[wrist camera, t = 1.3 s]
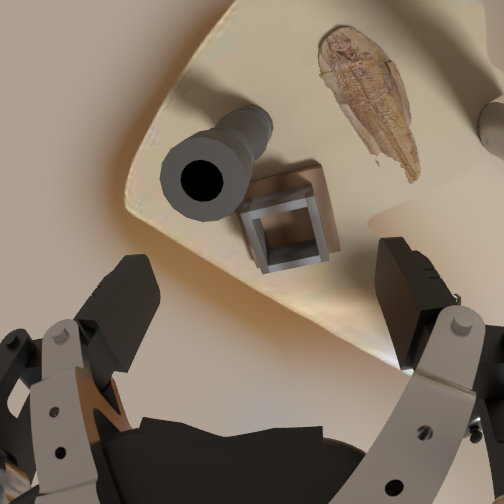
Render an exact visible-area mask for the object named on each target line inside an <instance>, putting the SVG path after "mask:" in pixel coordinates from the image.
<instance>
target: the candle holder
mask: <svg viewBox="0 0 504 504" xmlns="http://www.w3.org/2000/svg"><path fill="white" fill-rule="evenodd" d="M272 131H273V123H272V119H271V117H270V116H269V114H268V112H266V111H265V110H264V109H262V108H261V107H257V106H253V105H251V106H244V107H241V108H239V109H238V110H236V111H234V112H231V113H229V114H228V115H226V116H224V117H223V118H221V119H220V121H219V122H218V123H217V125H216V126H215V128H211V129H209V130H206V131H200V132H198V133H196V134H194V135H192V136H190V137H189V138H187V139H185V140H184V141H182V142H181V143H179V144H178V145H176V146H175V147H173V148H172V149H170V151H169V153H168V154H167V156H166V157H165V159H164V161H163V162H162V167H161V174H160V182H161V186H162V190H163V194H164V196H165V197H166V199H167V200H168V201H169V203H170V204H171V206H172V207H173V208H174V209H175V210H177V211H178V212H179V213H181V214H182V215H184V216H185V217H187V218H190V219H194V220H197V221H201V222H206V221H218V220H220V219H222V218H224V217H226V216H228V215H230V214H232V213H233V212H234V211H235V209H236V208H237V207H238V206H239V205H240V203H241V202H242V201H243V198H244V196H245V193H246V191H247V188H248V186H249V183H250V179H251V176H252V172H253V168H252V167H253V164H254V160H256V159H258V158H259V157H260V156H261V155H262V154H263V152H264V151H265V150H266V146H267V143H268V141H269V140H270V137H271V134H272Z"/></svg>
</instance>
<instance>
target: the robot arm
mask: <svg viewBox="0 0 504 504" xmlns="http://www.w3.org/2000/svg"><path fill="white" fill-rule="evenodd" d="M479 135H480V139H481V142H482V144H483V146H484V147H485V148H486V150H487V151H488V152H490V153H491V154H493V155H495V156H497V157H499V158H500V159H502V160H504V104H503V103H498V102H493V103H490V104H488V105H487V106H486V107H485V108H484V109H483V111H482V113H481V115H480V119H479ZM375 290H376V295H377V298H378V301H379V304H380V306H381V309H382V312H383V315H384V318H385V321H386V324H387V327H388V330H389V333H390V336H391V339H392V342H393V345H394V349H395V352H396V355H397V359H398V362H399V365H400V369H401V370H407V369H413V370H414V372H413V374H412V376H411V379H410V381H409V382H408V385H407V386H406V388H405V390H404V392H403V394H402V396H401V398H400V400H399V402H398V403H397V405H396V407H395V409H394V410H393V412H392V414H391V416H390V418H389V419H388V421H387V422H386V424H385V426H384V427H383V429H382V431H381V432H380V434H379V435H378V437H377V439H376V440H375V442H374V443H373V445H372V446H371V448H370V449H369V451H368V452H367V453H365V452H364V451H362V450H360V449H358V448H356V447H354V446H353V445H350V444H347V443H345V442H341V441H338V440H334V439H329V438H323V429H322V426H318V427H317V426H316V427H298V428H272V429H268V430H263V431H258V432H253V433H248V434H243V435H237V436H231V437H222V436H218V435H215V434H212V433H209V432H206V431H203V430H200V429H197V428H194V427H192V426H189V425H186V424H184V423H180V422H173V421H165V420H159V419H152V418H146V417H143V418H142V421H141V424H140V427H139V428H136V429H132V427H131V426H130V424H129V422H128V419H127V417H126V414H125V411H124V408H123V405H122V402H121V399H120V396H119V393H118V390H117V386H116V383H115V380H114V379H113V378H112V374H113V372H114V371H118V372H125V373H127V372H128V370H129V368H130V366H131V364H132V361H133V359H134V357H135V355H136V353H137V350H138V348H139V346H140V344H141V342H142V340H143V338H144V335H145V333H146V331H147V329H148V327H149V325H150V323H151V321H152V319H153V317H154V315H155V313H156V310H157V308H158V306H159V304H160V290H159V287H158V284H157V281H156V279H155V276H154V273H153V270H152V267H151V264H150V261H149V259H148V257H147V256H146V255H145V254H136V255H126V256H124V257H123V259H122V260H121V261H120V262H119V264H118V265H117V266H116V267H115V269H114V270H113V271H112V272H110V273H109V274H108V275H107V276H105V277H104V278H103V280H102V281H101V282H100V283H99V285H98V286H97V288H96V289H95V290H94V291H93V293H92V296H90V297H89V298H88V300H87V301H86V302H85V304H84V305H83V307H82V308H81V309H80V311H79V312H78V313H77V315H76V316H75V318H74V319H73V320H71V319H66V320H62V321H59V322H57V323H56V324H54V325H53V326H51V327H50V328H49V329H48V330H47V332H46V333H45V335H44V337H43V338H42V339H37V340H32V339H31V337H30V336H29V334H28V333H27V331H26V330H24V329H16V330H14V331H12V332H10V333H9V334H8V335H7V336H6V337H5V338H4V339H3V340H2V342H1V343H0V504H432V502H433V501H434V499H435V497H436V495H437V493H438V491H439V489H440V488H441V485H442V484H443V482H444V480H445V477H446V475H447V473H448V471H449V469H450V467H451V465H452V463H453V460H454V458H455V456H456V453H457V451H458V449H459V446H460V444H461V441H462V438H463V436H464V433H465V430H466V428H467V425H468V422H469V419H470V416H471V413H472V410H473V407H474V403H476V407H477V410H478V414H479V418H480V422H481V425H482V429H483V433H484V438H485V442H486V447H487V451H488V457H489V462H490V468H491V473H492V480H493V487H494V495H495V501H494V502H493V503H492V504H504V327H501V326H491V325H485V324H484V321H483V320H482V318H481V317H480V315H479V314H478V313H476V312H475V311H474V310H472V309H470V308H467V307H465V306H459V305H458V304H457V302H456V301H455V299H454V297H453V296H452V294H451V292H450V291H449V289H448V288H447V286H446V284H445V283H444V281H443V280H442V278H440V275H439V274H438V272H437V271H436V270H435V268H434V266H433V265H432V263H431V262H430V260H429V259H428V258H427V257H426V256H424V255H423V254H421V253H420V252H419V251H412V250H411V249H410V247H409V246H408V244H407V243H406V241H405V240H404V238H403V237H389V238H381V239H380V240H379V245H378V255H377V265H376V274H375ZM19 378H20V379H21V381H22V382H23V383H24V384H25V385H26V386H27V387H28V389H29V390H30V393H29V395H28V397H27V399H26V402H25V403H24V405H23V407H22V410H21V412H20V414H19V416H18V418H16V417H15V416H13V415H12V414H11V413H10V411H9V409H8V406H7V400H8V397H9V395H10V393H11V391H12V390H13V388H14V386H15V384H16V382H17V380H18V379H19ZM36 470H37V476H38V481H39V484H38V485H36V486H35V487H31V484H32V481H33V478H34V475H35V472H36Z"/></svg>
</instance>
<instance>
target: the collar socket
mask: <svg viewBox="0 0 504 504" xmlns="http://www.w3.org/2000/svg"><path fill="white" fill-rule="evenodd" d="M235 211H236V213H237V216H238V219H239V221H240V224H241V227H242V229H243V232H244V235H245V237H246V240H247V243H248V245H249V248H250V251H251V253H252V256H253V258H254V261H255V264H256V266H257V268H260V269H261V272H262V274H266V273H271V272H276V271H281V270H286V269H291V268H296V267H301V266H306V265H310V264H315V263H320V262H325V261H329V255H328V254H329V253H333V252H338V251H341V250H340V244H339V239H338V234H337V229H336V225H335V220H334V215H333V211H332V206H331V202H330V197H329V193H328V189H327V185H326V180H325V176H324V172H323V168H322V165H317V166H312V167H308V168H304V169H300V170H296V171H292V172H288V173H284V174H280V175H276V176H272V177H268V178H264V179H261V180H257V181H253V182H250V183H249V186H248V188H247V191H246V193H245V196H244V198H243V201H242V202H241V203H240V205H239V206H238V207H237V208H236V209H235Z"/></svg>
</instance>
